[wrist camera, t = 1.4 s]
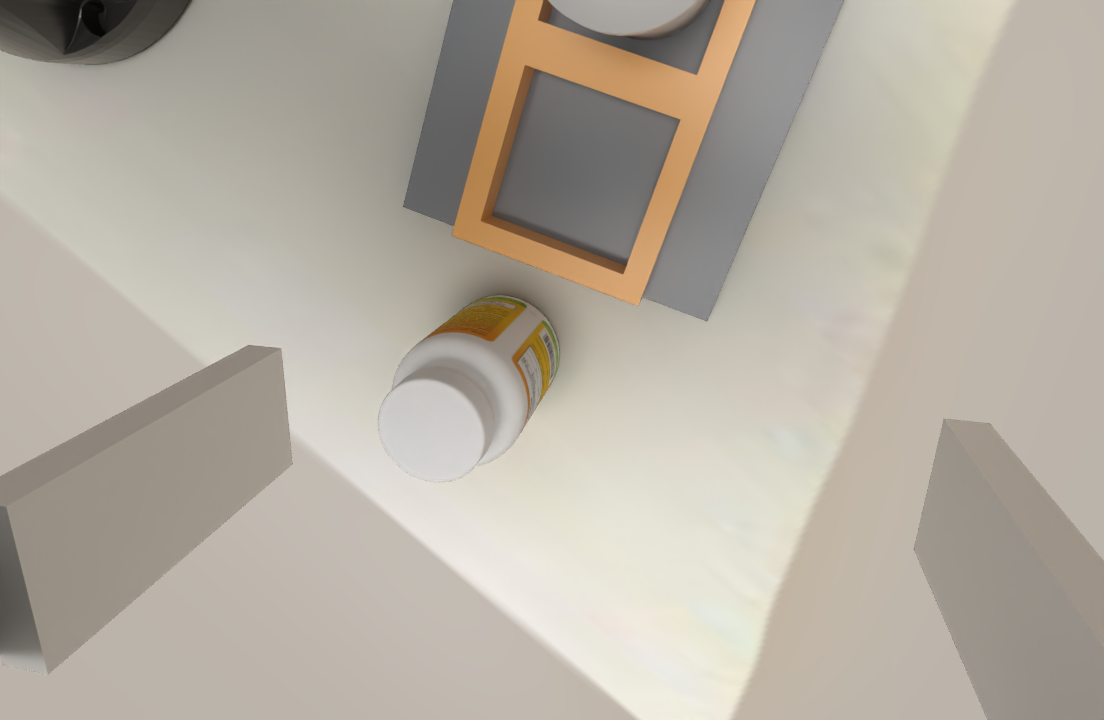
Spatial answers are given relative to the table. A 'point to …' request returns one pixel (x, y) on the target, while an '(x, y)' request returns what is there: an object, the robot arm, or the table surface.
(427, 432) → the supplement bottle
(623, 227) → the orange bottle caddy
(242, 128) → the table surface
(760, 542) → the table surface
